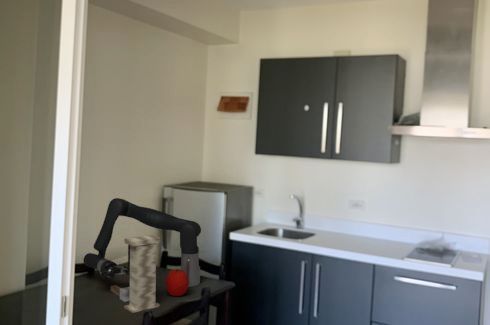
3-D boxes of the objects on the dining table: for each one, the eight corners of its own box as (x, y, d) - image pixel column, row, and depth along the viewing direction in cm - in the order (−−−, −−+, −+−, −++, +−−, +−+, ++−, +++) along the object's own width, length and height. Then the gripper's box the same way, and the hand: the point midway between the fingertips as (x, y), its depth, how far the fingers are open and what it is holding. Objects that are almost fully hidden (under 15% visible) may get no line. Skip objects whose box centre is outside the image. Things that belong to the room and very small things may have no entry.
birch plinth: (150, 301, 246) (151, 235, 244) (159, 306, 240) (160, 238, 238) (123, 307, 237) (124, 238, 235) (132, 312, 231) (132, 241, 229)
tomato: (176, 290, 265) (177, 264, 264) (193, 295, 257) (194, 269, 256) (159, 295, 256) (159, 268, 255) (176, 300, 248) (177, 273, 247)
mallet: (118, 289, 264) (118, 279, 264) (135, 299, 249) (136, 289, 249) (107, 291, 260) (107, 281, 260) (124, 301, 245) (124, 291, 245)
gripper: (94, 262, 261) (108, 269, 248) (120, 258, 270) (135, 264, 258) (94, 276, 261) (108, 284, 249) (120, 272, 270) (135, 279, 258)
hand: (121, 274), depth 253 cm, fingers open, 8 cm apart
